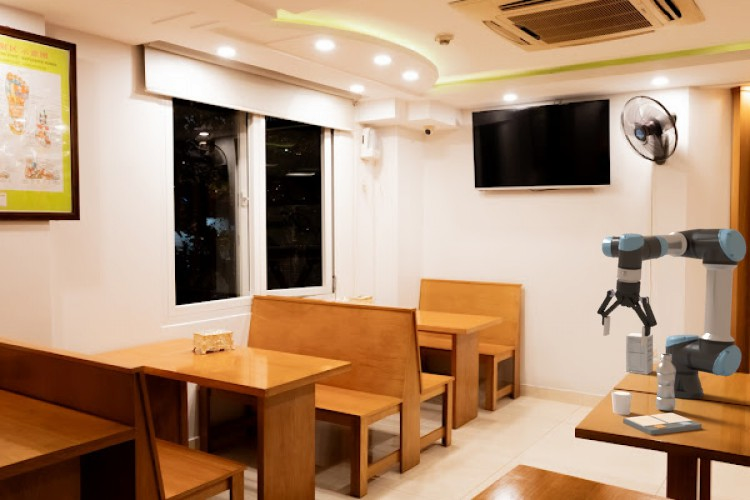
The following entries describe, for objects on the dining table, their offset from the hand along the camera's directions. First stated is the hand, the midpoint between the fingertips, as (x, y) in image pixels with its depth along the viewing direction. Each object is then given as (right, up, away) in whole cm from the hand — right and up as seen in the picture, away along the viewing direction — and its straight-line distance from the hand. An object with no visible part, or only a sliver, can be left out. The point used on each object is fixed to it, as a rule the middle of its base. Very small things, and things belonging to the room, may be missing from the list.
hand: (624, 339), depth 217 cm
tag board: (+9, -27, -9) cm, 30 cm away
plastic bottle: (+18, -27, +9) cm, 33 cm away
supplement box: (+34, -24, +68) cm, 80 cm away
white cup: (+1, -27, +6) cm, 28 cm away
